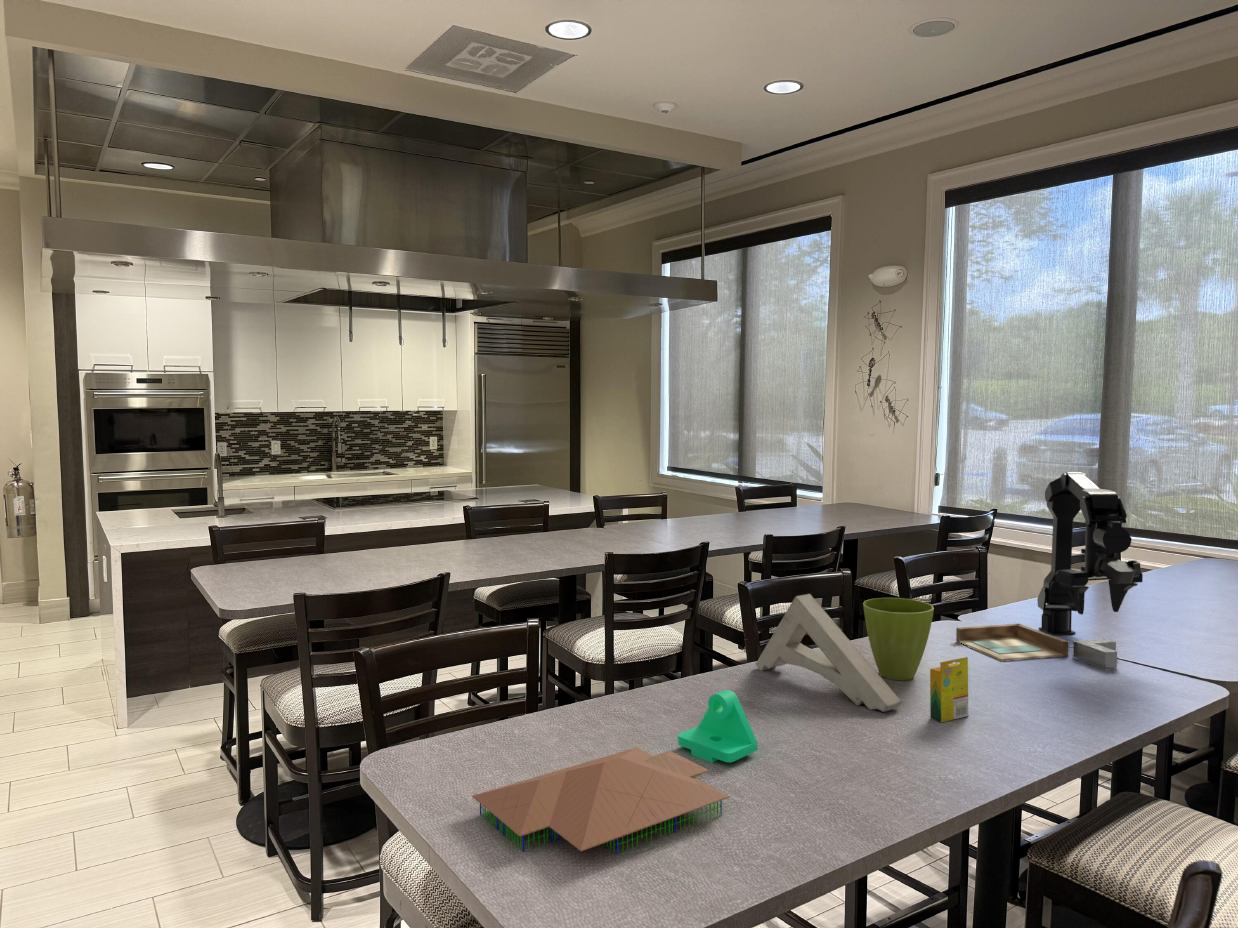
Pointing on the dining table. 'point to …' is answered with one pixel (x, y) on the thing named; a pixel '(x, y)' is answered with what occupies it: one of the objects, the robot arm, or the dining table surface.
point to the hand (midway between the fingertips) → (1098, 612)
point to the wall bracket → (826, 655)
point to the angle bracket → (1096, 652)
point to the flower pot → (897, 634)
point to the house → (603, 799)
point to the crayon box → (949, 690)
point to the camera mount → (721, 731)
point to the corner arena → (1012, 642)
